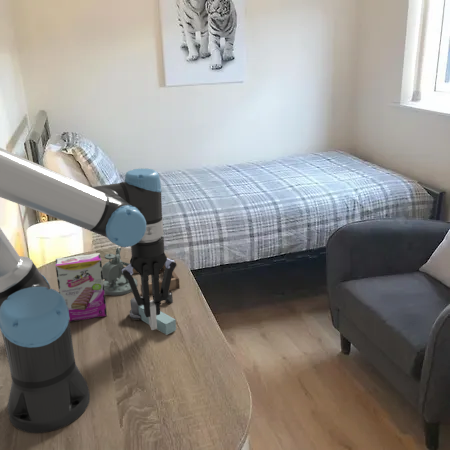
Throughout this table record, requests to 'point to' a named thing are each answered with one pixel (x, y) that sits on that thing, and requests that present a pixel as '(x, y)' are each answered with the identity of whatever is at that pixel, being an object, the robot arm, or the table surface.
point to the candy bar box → (82, 286)
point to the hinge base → (138, 317)
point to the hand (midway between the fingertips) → (153, 326)
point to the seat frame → (173, 284)
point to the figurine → (115, 276)
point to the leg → (163, 320)
